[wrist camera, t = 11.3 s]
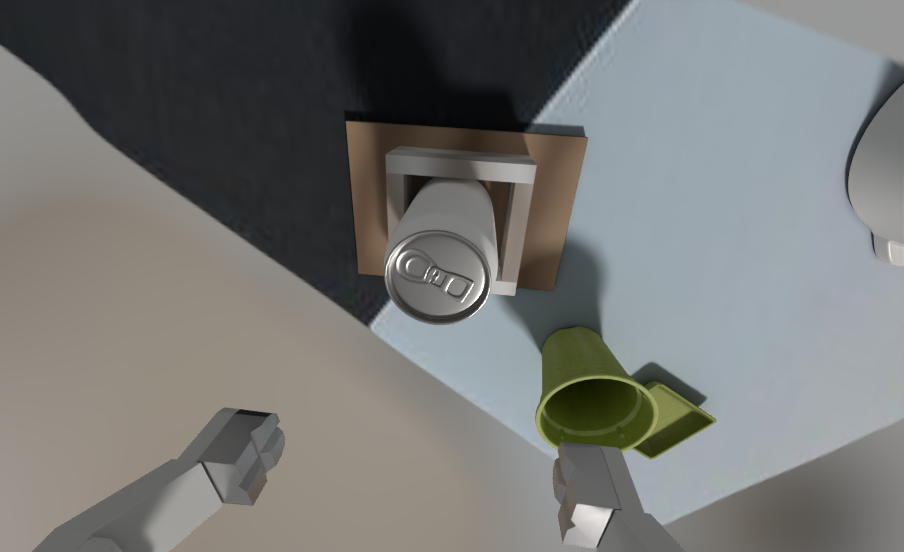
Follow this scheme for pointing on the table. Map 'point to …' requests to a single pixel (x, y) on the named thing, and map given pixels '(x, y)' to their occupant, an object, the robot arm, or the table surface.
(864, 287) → the table surface
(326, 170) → the table surface
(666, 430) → the saucer
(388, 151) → the socket board
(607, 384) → the plant pot
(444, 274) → the can
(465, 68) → the table surface
